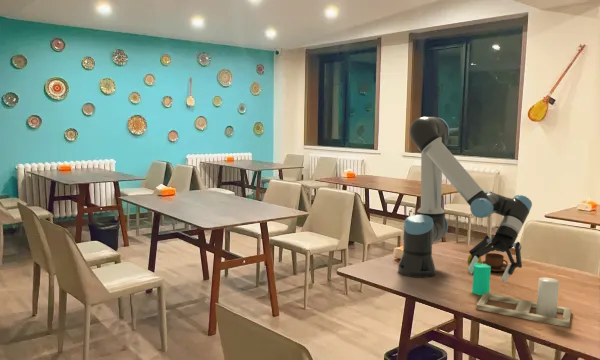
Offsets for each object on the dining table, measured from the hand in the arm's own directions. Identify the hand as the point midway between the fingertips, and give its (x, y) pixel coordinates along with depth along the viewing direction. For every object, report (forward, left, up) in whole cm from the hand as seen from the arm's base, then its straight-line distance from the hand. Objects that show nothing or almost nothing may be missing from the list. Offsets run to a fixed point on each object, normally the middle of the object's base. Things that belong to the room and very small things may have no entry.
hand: (486, 276), depth 187 cm
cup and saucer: (-3, +33, -7) cm, 34 cm away
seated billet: (+22, -12, -6) cm, 25 cm away
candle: (-1, -1, -7) cm, 7 cm away
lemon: (-9, +26, -7) cm, 29 cm away
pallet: (+15, -12, -6) cm, 20 cm away
